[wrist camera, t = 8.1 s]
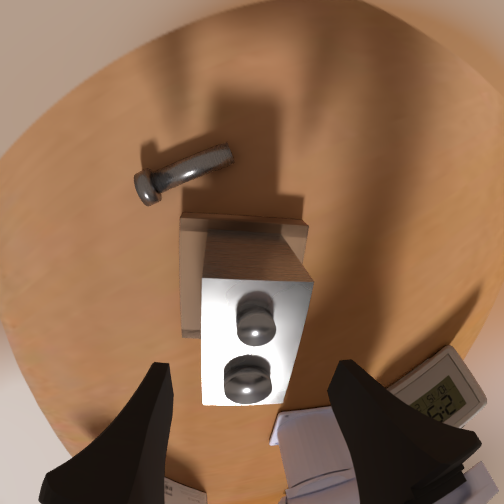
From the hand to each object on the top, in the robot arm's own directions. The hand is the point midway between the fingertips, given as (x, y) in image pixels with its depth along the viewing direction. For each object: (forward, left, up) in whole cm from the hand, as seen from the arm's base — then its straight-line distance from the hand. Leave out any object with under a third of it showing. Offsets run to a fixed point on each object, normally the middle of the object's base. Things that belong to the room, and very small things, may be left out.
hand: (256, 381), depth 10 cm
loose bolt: (+4, -8, -10) cm, 13 cm away
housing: (0, 0, -8) cm, 8 cm away
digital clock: (-23, +16, -10) cm, 29 cm away
